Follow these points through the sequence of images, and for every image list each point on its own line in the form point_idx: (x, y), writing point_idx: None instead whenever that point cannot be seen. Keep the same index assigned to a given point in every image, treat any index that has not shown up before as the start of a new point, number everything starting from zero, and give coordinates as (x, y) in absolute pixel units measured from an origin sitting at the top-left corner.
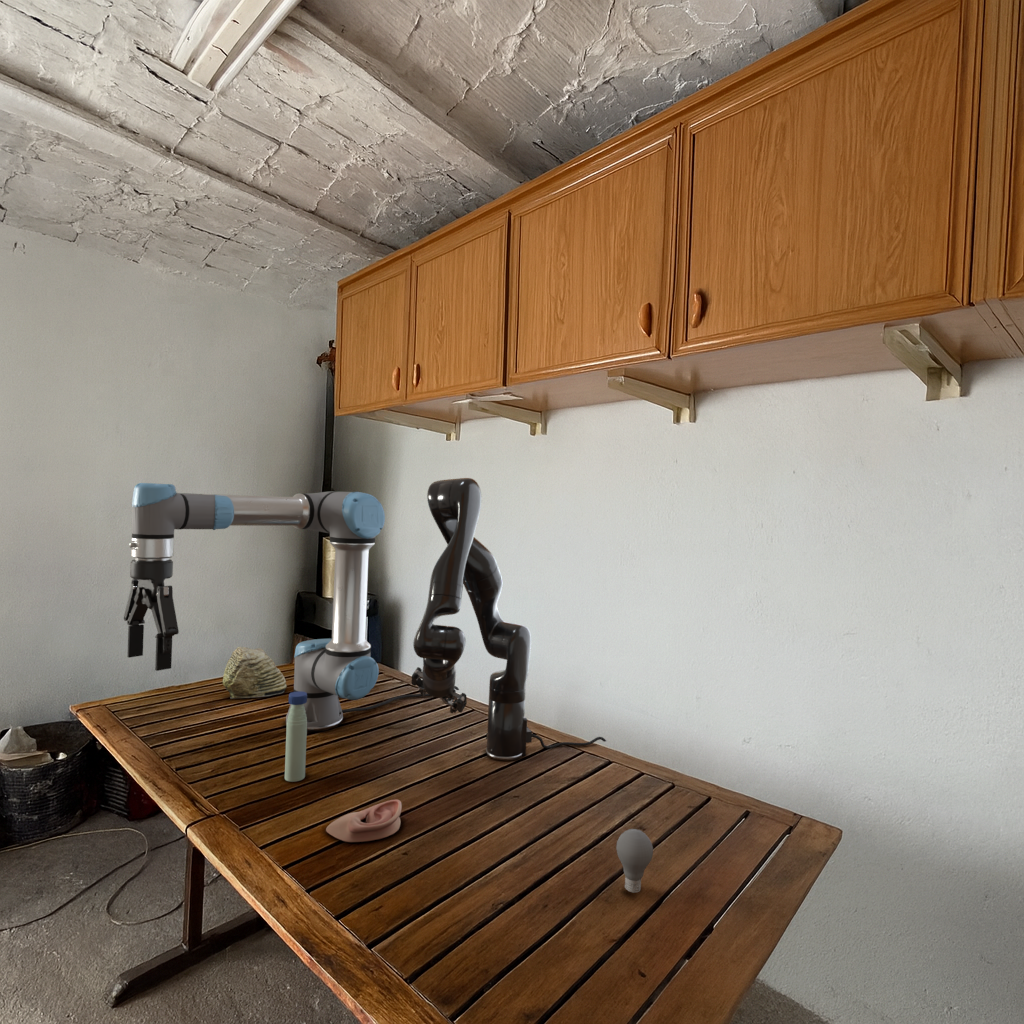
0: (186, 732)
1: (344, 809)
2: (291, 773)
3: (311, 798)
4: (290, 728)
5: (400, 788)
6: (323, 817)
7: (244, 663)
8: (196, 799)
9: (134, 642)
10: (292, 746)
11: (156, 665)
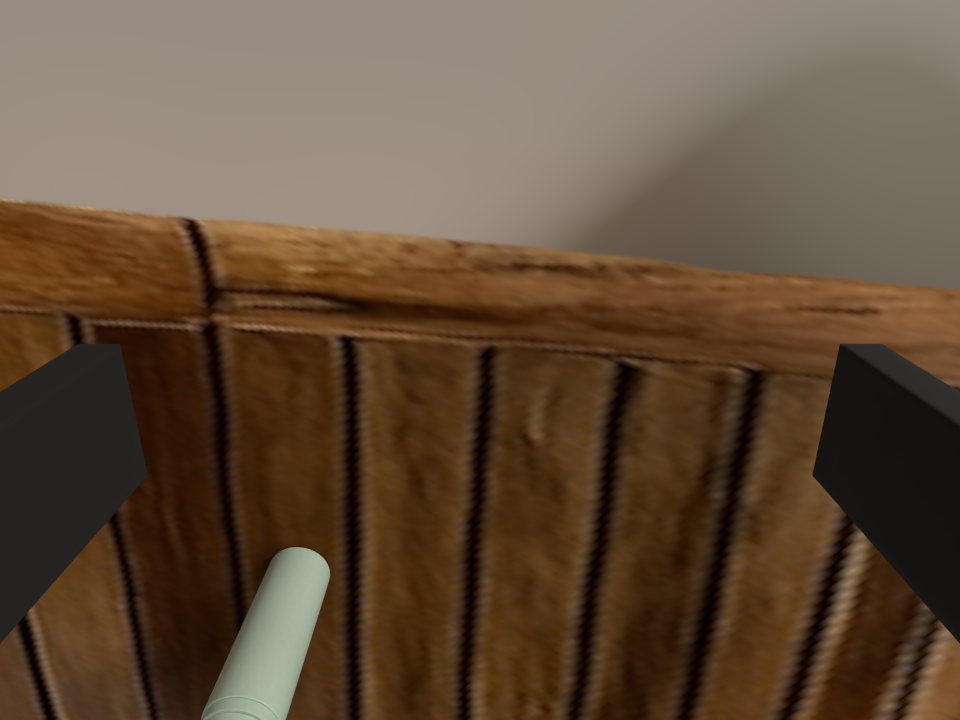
0: None
1: None
2: (271, 568)
3: (138, 535)
4: (228, 684)
5: (52, 703)
6: None
7: None
8: (354, 314)
9: (932, 482)
10: (243, 634)
11: (54, 364)
